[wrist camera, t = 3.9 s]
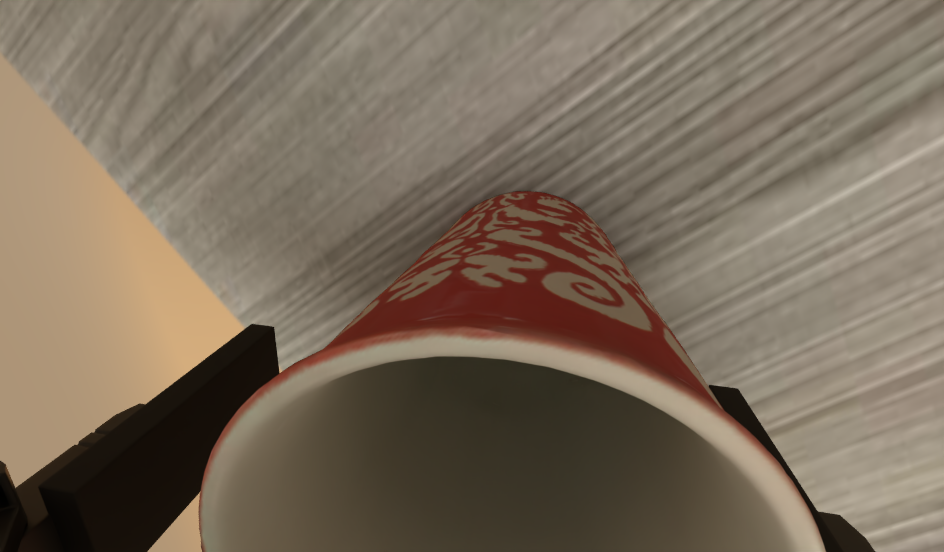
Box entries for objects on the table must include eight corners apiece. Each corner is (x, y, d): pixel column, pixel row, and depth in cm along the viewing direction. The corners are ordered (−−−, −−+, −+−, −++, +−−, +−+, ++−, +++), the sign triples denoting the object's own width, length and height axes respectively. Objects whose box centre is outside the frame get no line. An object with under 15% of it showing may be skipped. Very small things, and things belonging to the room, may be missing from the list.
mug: (528, 109, 17) (472, 160, 4) (689, 279, 18) (997, 689, 6) (330, 318, 21) (27, 632, 9) (470, 440, 23) (377, 859, 10)
